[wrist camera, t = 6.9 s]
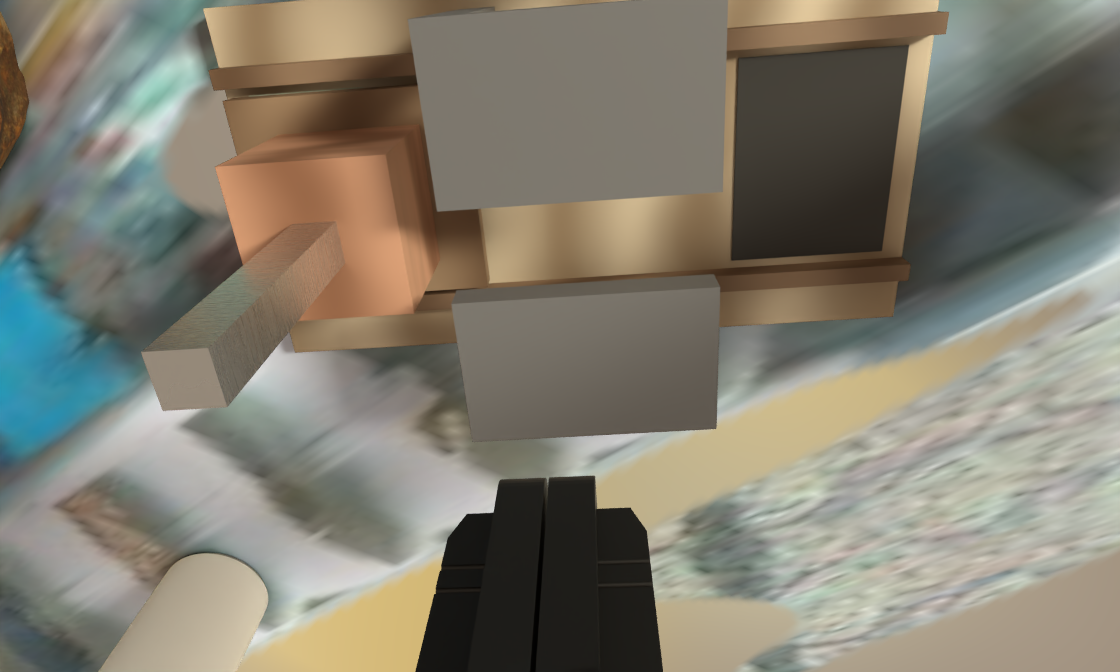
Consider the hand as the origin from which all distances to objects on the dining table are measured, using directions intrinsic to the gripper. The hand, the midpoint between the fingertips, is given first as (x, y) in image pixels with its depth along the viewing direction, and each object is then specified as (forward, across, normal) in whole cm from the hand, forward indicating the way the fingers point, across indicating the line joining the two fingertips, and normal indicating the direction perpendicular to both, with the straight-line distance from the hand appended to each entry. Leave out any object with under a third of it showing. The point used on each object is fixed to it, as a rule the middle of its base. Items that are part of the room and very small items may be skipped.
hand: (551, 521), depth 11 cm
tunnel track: (+25, 0, 0) cm, 25 cm away
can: (+24, +24, +25) cm, 43 cm away
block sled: (+22, +9, 0) cm, 24 cm away
